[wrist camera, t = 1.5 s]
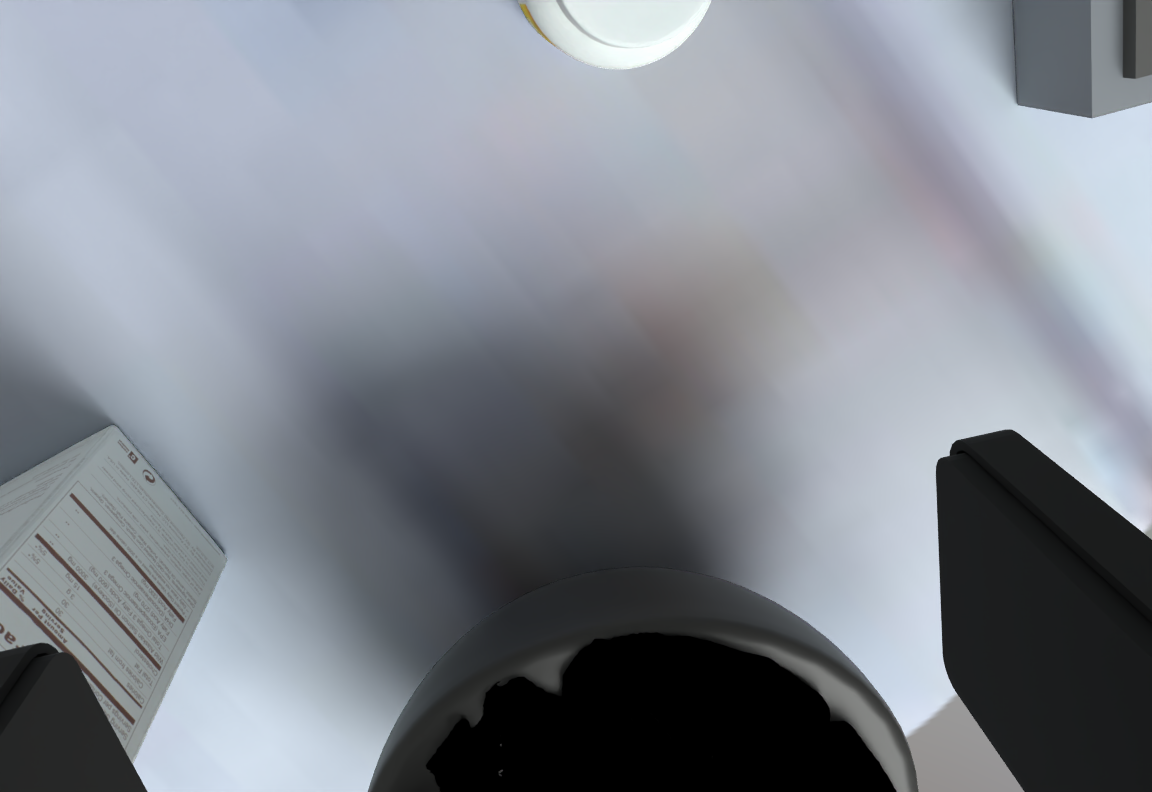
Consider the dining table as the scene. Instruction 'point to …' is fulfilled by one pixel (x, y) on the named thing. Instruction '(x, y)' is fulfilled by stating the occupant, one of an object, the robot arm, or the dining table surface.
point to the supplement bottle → (615, 28)
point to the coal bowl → (645, 698)
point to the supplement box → (105, 573)
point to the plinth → (1083, 55)
